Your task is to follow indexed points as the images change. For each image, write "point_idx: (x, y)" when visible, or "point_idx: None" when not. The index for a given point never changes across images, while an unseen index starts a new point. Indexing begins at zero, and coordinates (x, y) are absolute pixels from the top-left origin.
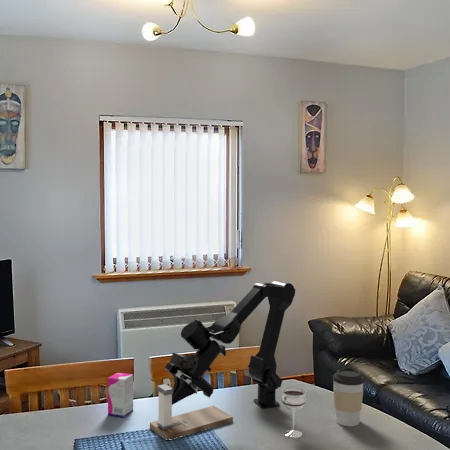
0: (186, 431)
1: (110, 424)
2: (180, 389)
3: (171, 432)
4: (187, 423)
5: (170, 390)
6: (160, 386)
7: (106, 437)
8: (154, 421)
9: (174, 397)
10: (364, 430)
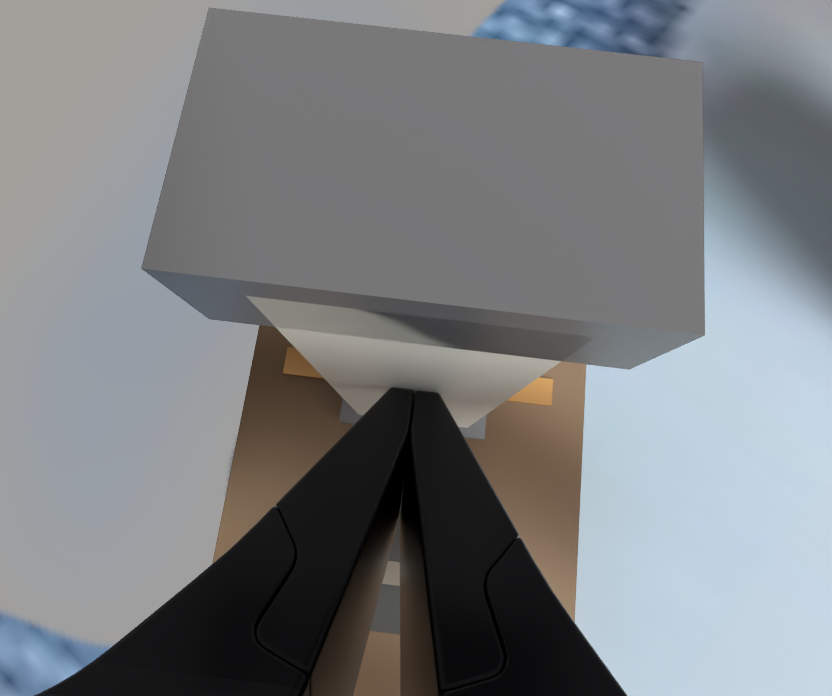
0: (229, 496)
1: (810, 156)
2: (167, 605)
3: (286, 358)
4: None
5: (187, 199)
6: (590, 91)
7: (623, 40)
8: (584, 379)
9: (333, 452)
10: None
